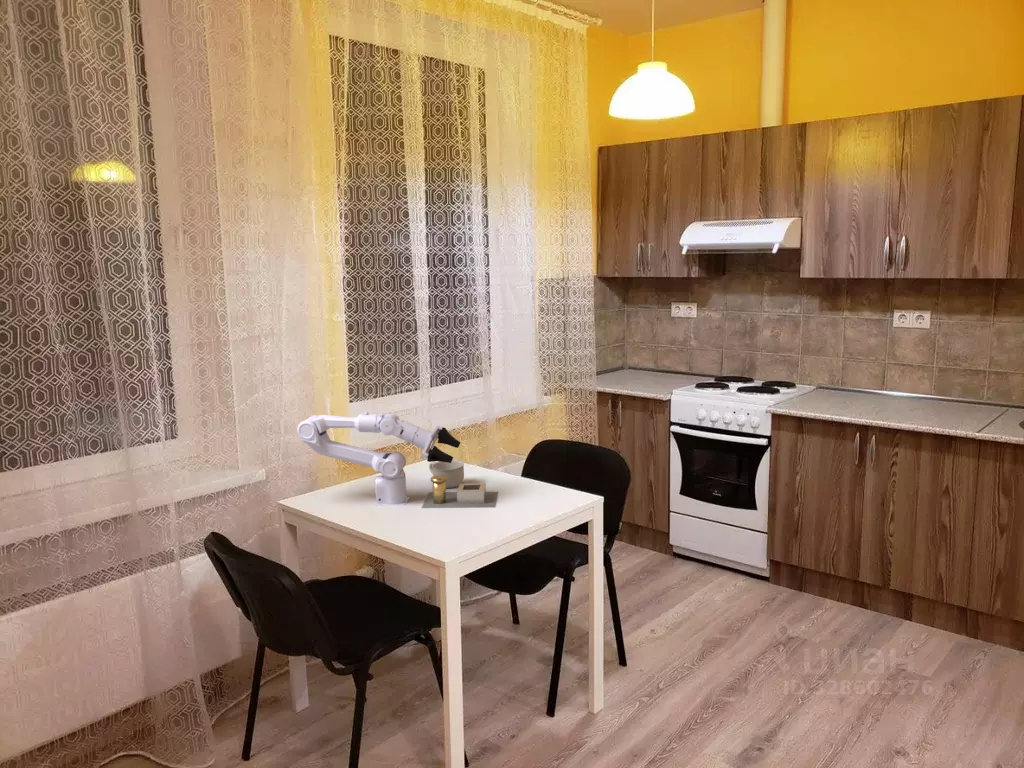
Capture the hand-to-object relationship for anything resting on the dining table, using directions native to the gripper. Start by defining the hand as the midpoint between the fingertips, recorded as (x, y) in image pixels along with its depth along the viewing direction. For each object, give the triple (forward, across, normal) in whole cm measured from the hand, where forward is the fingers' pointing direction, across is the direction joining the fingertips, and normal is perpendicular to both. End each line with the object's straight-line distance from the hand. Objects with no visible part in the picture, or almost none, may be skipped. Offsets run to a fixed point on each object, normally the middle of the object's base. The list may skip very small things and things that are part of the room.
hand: (455, 452), depth 240 cm
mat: (+8, -5, +14) cm, 16 cm away
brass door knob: (+2, -8, +14) cm, 17 cm away
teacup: (+1, +8, +24) cm, 26 cm away
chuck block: (+10, -4, +12) cm, 17 cm away
